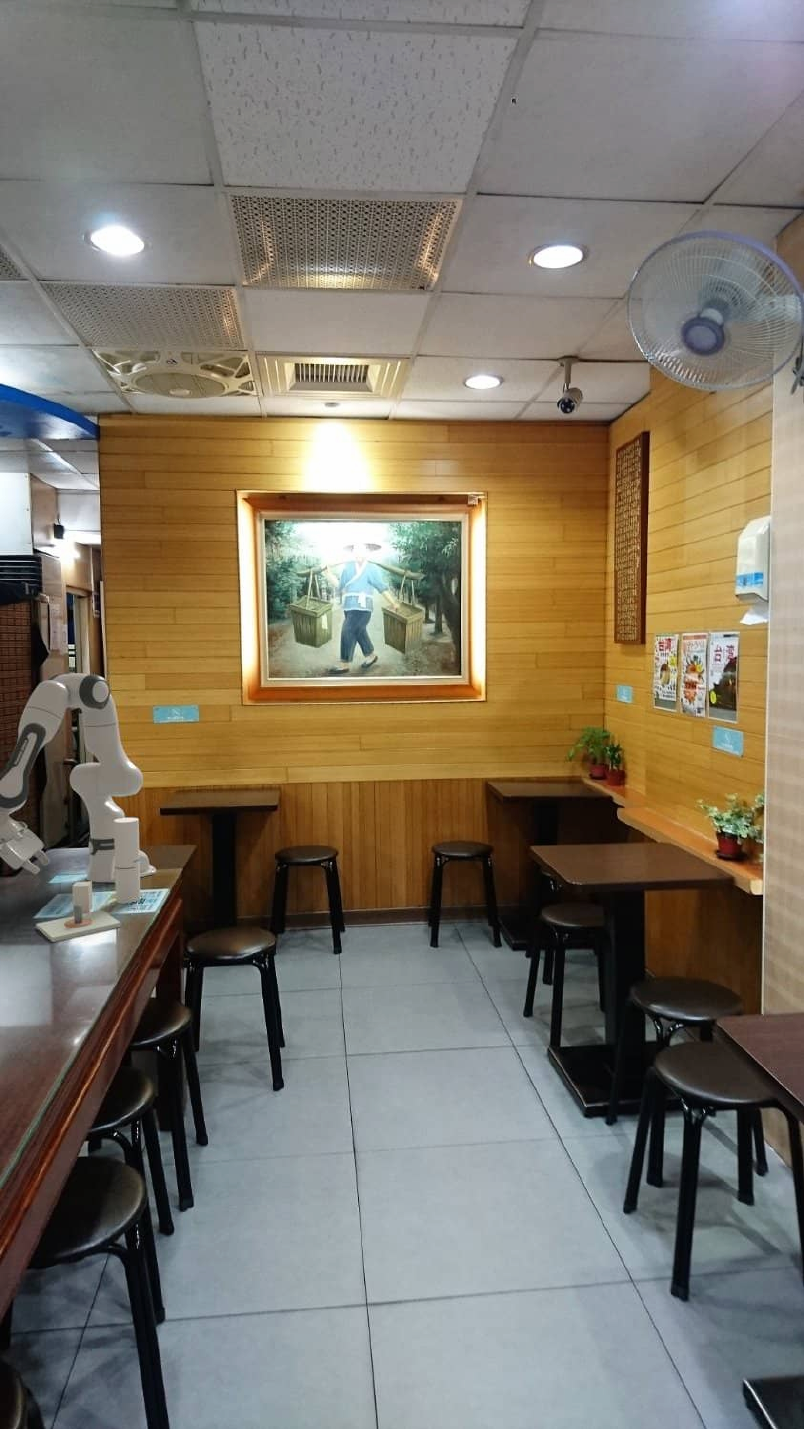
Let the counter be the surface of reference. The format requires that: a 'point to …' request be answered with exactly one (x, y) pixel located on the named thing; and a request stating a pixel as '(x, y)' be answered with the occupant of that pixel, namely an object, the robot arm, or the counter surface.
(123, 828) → the cylindrical container
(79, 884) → the square block
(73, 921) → the base plate
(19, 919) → the counter surface
